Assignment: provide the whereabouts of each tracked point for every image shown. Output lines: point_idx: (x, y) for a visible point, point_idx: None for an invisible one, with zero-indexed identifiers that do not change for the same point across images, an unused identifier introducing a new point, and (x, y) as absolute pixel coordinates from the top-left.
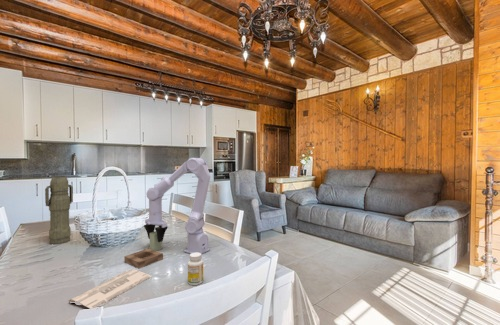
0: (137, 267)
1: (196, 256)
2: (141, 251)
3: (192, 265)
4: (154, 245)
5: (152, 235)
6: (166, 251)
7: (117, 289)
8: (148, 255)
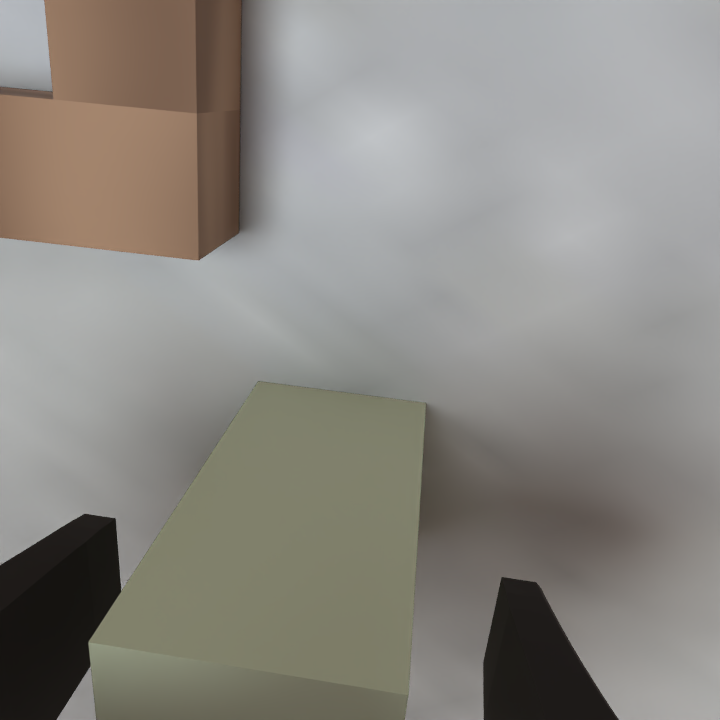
0: None
1: None
2: (135, 10)
3: None
4: (224, 437)
5: (227, 615)
6: (68, 458)
7: None
8: (25, 92)
